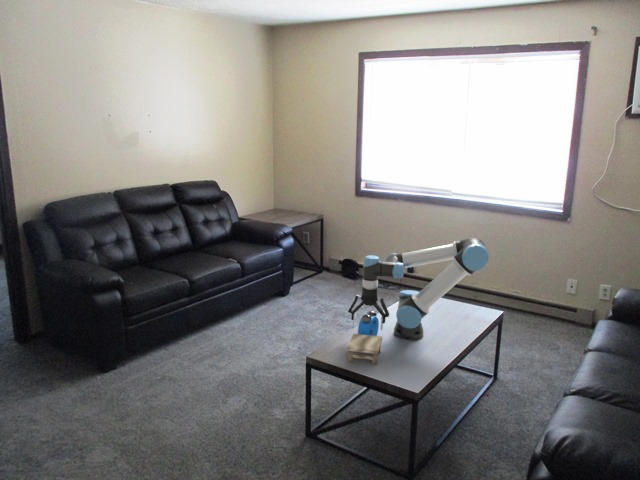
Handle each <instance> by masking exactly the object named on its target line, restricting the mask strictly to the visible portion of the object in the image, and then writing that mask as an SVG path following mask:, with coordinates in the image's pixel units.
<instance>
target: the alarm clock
mask: <svg viewBox="0 0 640 480" xmlns="http://www.w3.org/2000/svg"><path fill="white" fill-rule="evenodd" d="M379 325H380V323H379V318H378V316H377V312H376V311H374V310H369V311H367V312H366V314H363V315H362V316H361V318H360V320H359V323H358V328H357V334H362V335H371V336H378V333H379V328H380V327H379Z"/></svg>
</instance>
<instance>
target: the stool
mask: <svg viewBox="0 0 640 480" xmlns="http://www.w3.org/2000/svg"><path fill="white" fill-rule="evenodd" d="M382 342H383V336H379V335H377V336H371V335H362V334H358V333H352V336H351V339H350V340H349V343H348V345H347V347H346V350H347V351H348V363H353V362H354V358H355V359H361V360H363V359H364V360H371V362H372V366H377V364H378V354H380V353H381V346H382ZM354 352H357V353H366V354H367V353H368V354H372V355H362V354H354Z"/></svg>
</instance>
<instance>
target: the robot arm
mask: <svg viewBox="0 0 640 480" xmlns="http://www.w3.org/2000/svg"><path fill="white" fill-rule="evenodd" d="M489 259H490V254H489V250H488V248H487V247H486V244H485V242H484V241H483V240H481V239H480V238H476V237H469V238H464V239H460V240H459V239H458V240H455V241H453V243H449V244H445V245H438V246H434V247H430V248H424V249H423V248H422V249H419V250H413V251H408V252H402V253H395V252H393V253H390V254H389V255H388V256H387V257H386V260H385V261H384V260H382V261H381V260H380V257H379V256H378V255H372V254H370V255H366V256H364V258H363V266H362V281H361V282H362V285H361V286H362V287H361V295H359V294H357V293H356V295H355V297H354V301H353V302H352V303H351V305H350V307H349V308H348V311H347V312H348V313H350V314H351V317H350V318H351V321H352V322H353V328H355V327H356V321H357V311H358V310H360V309H361V307H363V306H364V305H365V306H369V307H374V308H375V309H376V310H377V312H378V313H379V314H380V315H381V318H380V331H383V326H384V324H385V323H386V318H389V316H390V312H389V309H388V307H387V306H386V302H385V301H384V300H385V299H384V297H383V296H381V297H378V291H379V289H378V286H379V277H381V278H390V279H391V278H392V279H403V277H404V271H405V270H404V269H407V268H412V267H413V268H414V267H419V266H423V265H424V266H425V265H429V264H435V263H441V262H446V261H450V260H451V261H452V260H453V261H452V262H451V263H450V264H448V266H447V267H445V269H443V270H442V271H441V272H440V273H439V274H438V275H437V276H435V278H433V280H431V281H430V282H429V283H428V284H427V285H426V286H424V287H423V289H421V290H420V291H418V290H411V289H410V290H409V289H407V290H400V292H399V295H398V304H397V311H396V313H395V314H396V320H397V321H396V322H395V325H394V328H393V335H394V336H395V337H397V338H400V339H403V340H409V341H410V340H413V341H414V340H419V339H421V338H423V337H424V333H425V331H424V327H423V324H422V319H423V318H425V316H427V315H428V314H429V313H430V308H431V307H432V306H433V305H434V304H436V303H437V302H438V301H439V300H440V299H441V298H442V297H443V296H444V295H445V294H447V293H448V292H449V291H450V290H452V288H453V287H455V286H456V285H457V284H458V283H459V282H460V281H461V280H463V278H465V277H466V276H472V275H473V274H475V272H477V271H480V270H483V269H484V268H485V267H486V266H487V264H488V262H489ZM359 300H361V302H360V303H359V304H358V305H357V306H356V307H355V305H356V304H357V301H359ZM378 301H379V303H380V305H381V306H380V305H379V304H378ZM354 307H355V308H354ZM381 307H382V308H381Z"/></svg>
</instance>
